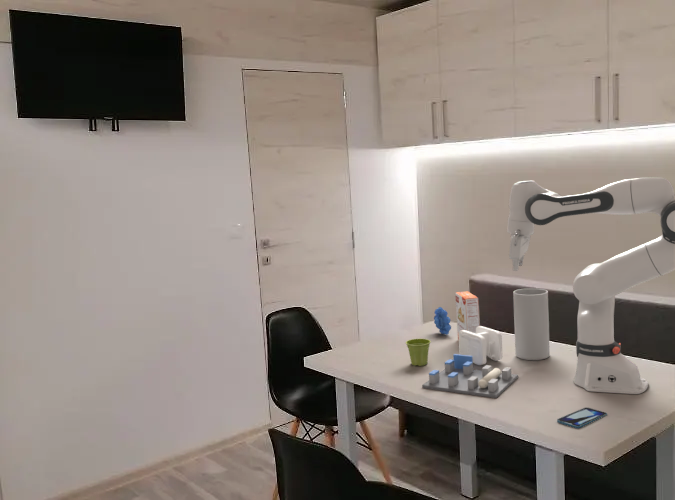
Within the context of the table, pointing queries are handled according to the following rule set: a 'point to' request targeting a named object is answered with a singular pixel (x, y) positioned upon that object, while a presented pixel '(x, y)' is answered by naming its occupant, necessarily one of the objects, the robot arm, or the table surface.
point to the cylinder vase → (531, 324)
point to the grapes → (442, 321)
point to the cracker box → (467, 311)
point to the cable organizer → (481, 344)
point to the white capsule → (489, 377)
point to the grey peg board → (468, 378)
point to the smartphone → (581, 417)
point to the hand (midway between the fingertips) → (517, 268)
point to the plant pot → (418, 351)
